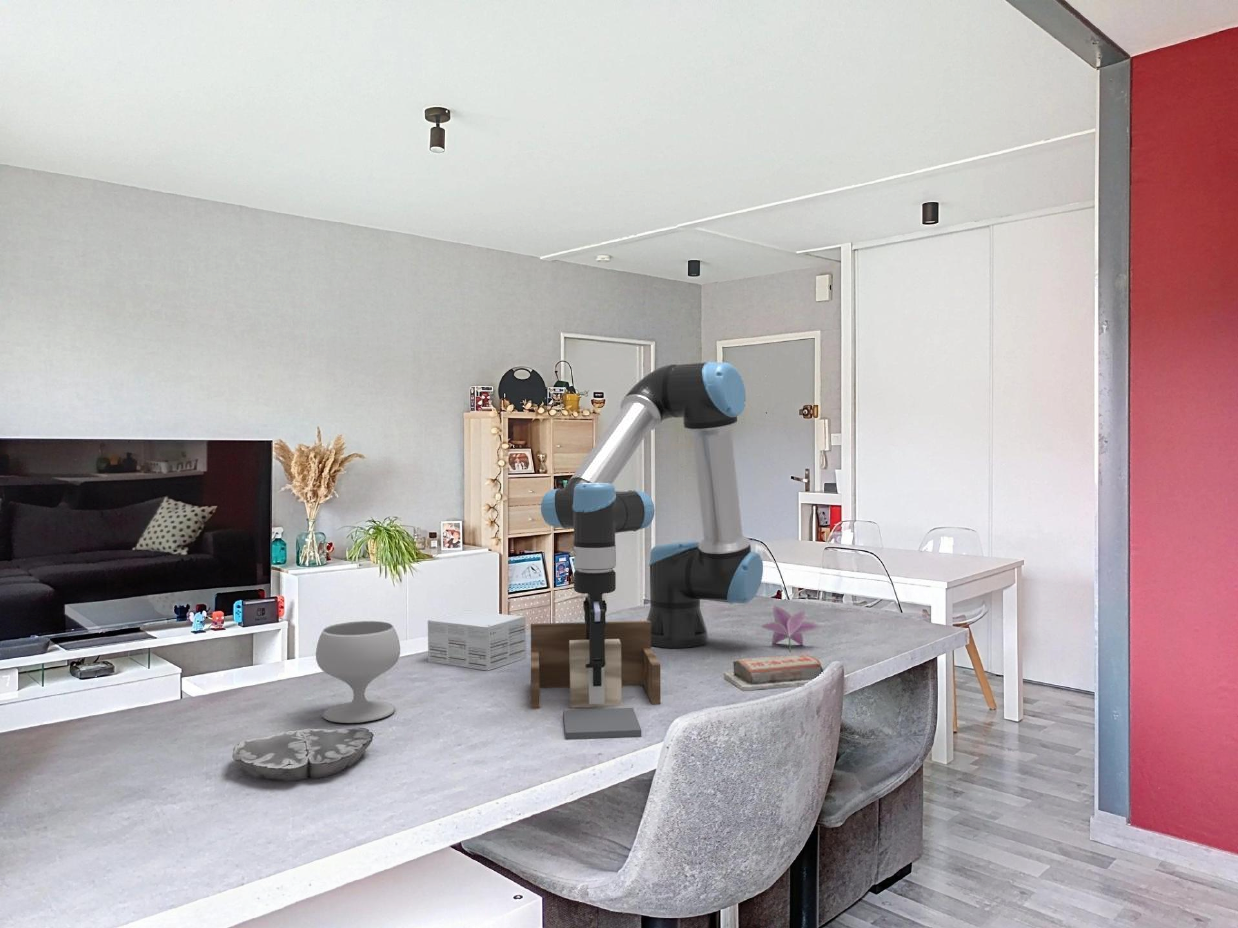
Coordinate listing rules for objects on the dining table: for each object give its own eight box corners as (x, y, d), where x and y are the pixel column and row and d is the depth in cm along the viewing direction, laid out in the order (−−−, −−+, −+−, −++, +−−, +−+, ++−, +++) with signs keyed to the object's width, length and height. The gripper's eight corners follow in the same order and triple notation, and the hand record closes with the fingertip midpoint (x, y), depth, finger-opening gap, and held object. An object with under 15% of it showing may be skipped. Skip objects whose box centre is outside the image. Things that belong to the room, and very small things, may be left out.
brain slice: (232, 799, 118) (232, 776, 118) (232, 757, 133) (232, 738, 133) (384, 776, 126) (383, 755, 125) (367, 739, 141) (367, 721, 141)
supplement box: (527, 658, 193) (527, 615, 193) (488, 672, 182) (488, 626, 182) (467, 649, 202) (467, 608, 202) (427, 662, 191) (426, 618, 190)
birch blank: (569, 700, 161) (569, 640, 161) (619, 698, 162) (618, 638, 162) (570, 707, 157) (570, 645, 157) (621, 705, 158) (621, 643, 158)
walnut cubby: (531, 685, 171) (530, 623, 171) (649, 681, 173) (649, 620, 173) (530, 708, 156) (530, 640, 156) (660, 703, 159) (660, 636, 158)
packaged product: (805, 649, 181) (829, 661, 171) (805, 673, 181) (829, 686, 171) (722, 655, 176) (743, 668, 166) (722, 680, 176) (743, 693, 166)
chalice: (324, 731, 144) (322, 639, 144) (310, 709, 157) (309, 624, 156) (409, 719, 151) (408, 631, 150) (390, 698, 163) (389, 616, 163)
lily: (827, 654, 200) (822, 613, 204) (804, 642, 191) (798, 599, 196) (780, 663, 206) (775, 623, 210) (755, 652, 197) (751, 611, 202)
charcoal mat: (563, 715, 152) (563, 709, 152) (632, 713, 153) (632, 707, 153) (565, 738, 140) (565, 732, 140) (641, 736, 141) (641, 729, 141)
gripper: (571, 562, 168) (572, 683, 169) (576, 578, 149) (577, 714, 149) (610, 561, 169) (611, 682, 169) (620, 577, 150) (621, 713, 150)
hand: (595, 697), depth 159 cm, fingers open, 6 cm apart
